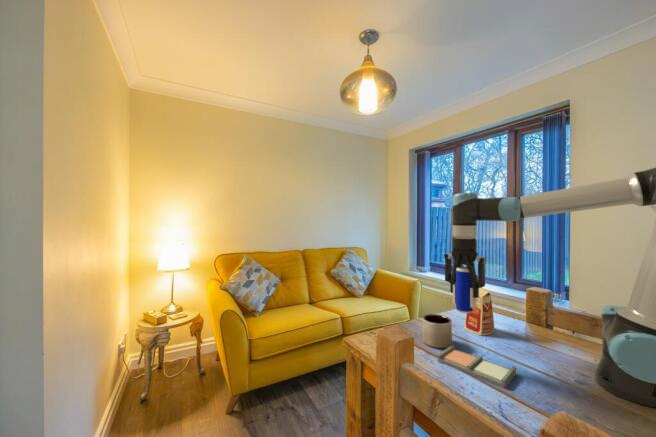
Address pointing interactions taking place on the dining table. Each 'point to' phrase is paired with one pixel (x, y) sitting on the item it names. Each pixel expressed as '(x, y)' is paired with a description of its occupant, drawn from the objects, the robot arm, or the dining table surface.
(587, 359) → the dining table surface
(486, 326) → the milk carton
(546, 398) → the dining table surface
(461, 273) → the beverage can
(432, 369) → the dining table surface
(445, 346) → the planter
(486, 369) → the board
